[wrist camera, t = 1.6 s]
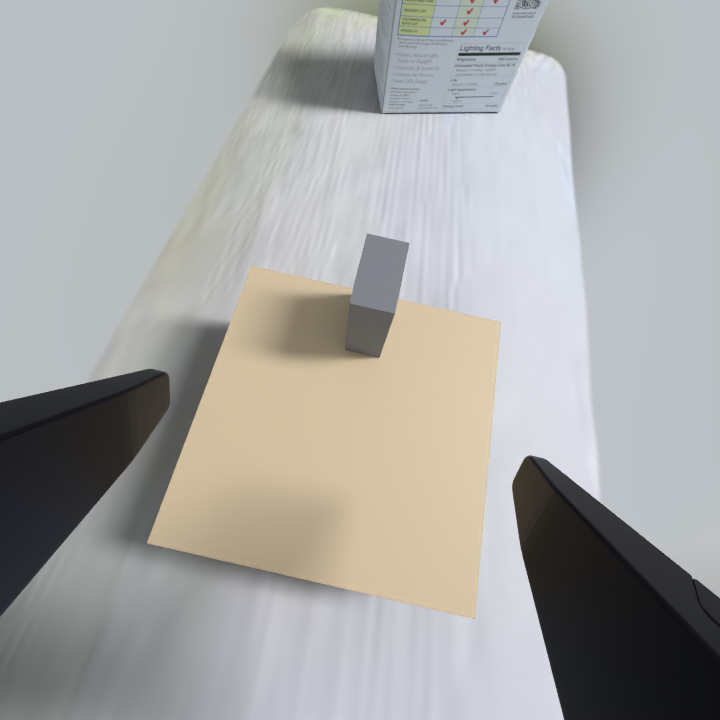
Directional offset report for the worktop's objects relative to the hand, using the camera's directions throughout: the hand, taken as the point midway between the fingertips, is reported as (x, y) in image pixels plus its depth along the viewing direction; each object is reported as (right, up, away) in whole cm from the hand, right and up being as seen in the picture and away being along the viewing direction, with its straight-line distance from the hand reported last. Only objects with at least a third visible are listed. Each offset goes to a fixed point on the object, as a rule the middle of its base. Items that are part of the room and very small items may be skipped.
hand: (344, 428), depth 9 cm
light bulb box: (+7, +25, +23) cm, 35 cm away
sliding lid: (0, -1, +7) cm, 7 cm away
